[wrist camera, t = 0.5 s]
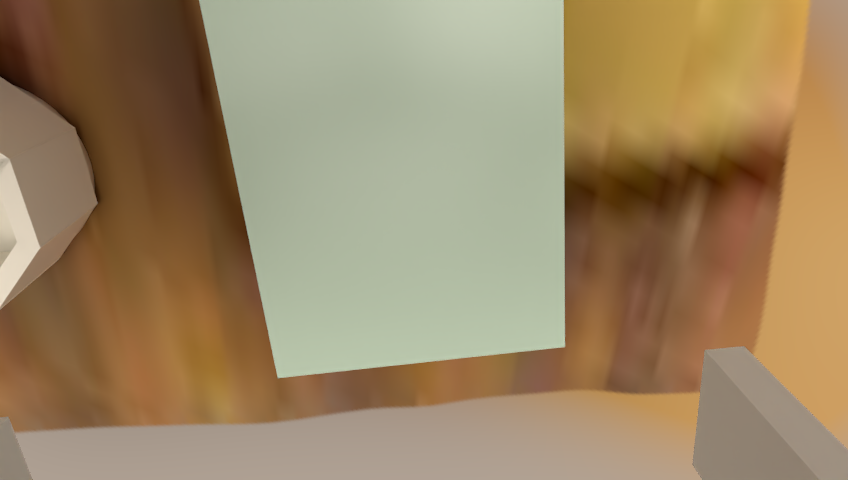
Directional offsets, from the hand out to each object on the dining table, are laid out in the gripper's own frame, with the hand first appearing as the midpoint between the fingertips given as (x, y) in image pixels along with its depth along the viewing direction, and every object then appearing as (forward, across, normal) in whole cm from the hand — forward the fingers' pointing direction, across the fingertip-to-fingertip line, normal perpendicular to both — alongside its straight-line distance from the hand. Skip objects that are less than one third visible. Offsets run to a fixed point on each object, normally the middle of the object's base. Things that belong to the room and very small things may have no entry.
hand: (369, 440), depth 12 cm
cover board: (+14, +1, +2) cm, 14 cm away
